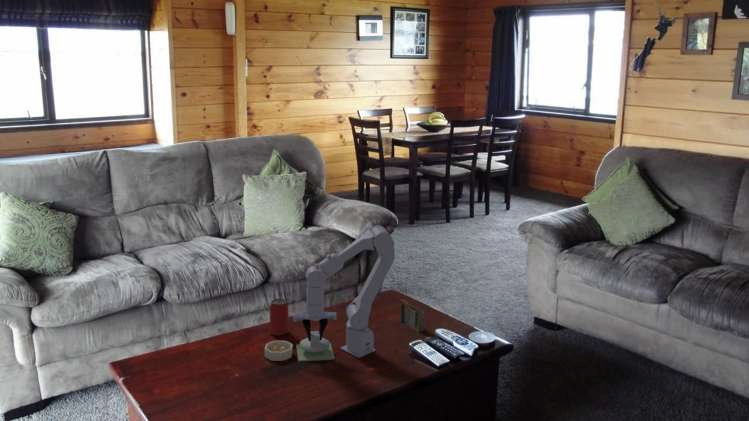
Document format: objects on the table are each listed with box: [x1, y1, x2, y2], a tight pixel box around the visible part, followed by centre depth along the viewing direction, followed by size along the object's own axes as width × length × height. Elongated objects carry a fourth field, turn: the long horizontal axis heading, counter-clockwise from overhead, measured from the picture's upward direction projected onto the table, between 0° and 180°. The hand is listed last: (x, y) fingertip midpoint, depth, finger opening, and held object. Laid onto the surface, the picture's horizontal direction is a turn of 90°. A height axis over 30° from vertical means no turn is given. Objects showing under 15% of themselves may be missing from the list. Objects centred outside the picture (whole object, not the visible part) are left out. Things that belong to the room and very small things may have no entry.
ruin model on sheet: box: [399, 299, 426, 333], centre depth 253 cm, size 11×3×10 cm, turn 34°
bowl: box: [264, 340, 294, 362], centre depth 228 cm, size 9×9×3 cm
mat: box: [295, 342, 336, 363], centre depth 231 cm, size 12×12×1 cm
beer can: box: [269, 298, 289, 337], centre depth 244 cm, size 7×7×12 cm
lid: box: [299, 330, 331, 352], centre depth 230 cm, size 10×10×4 cm
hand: (314, 339), depth 230 cm, fingers closed on lid, 3 cm apart
